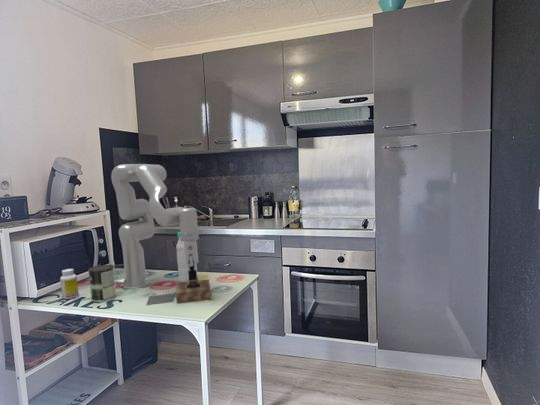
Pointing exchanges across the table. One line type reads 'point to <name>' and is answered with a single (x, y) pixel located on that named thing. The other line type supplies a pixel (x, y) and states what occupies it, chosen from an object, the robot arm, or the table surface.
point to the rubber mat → (160, 299)
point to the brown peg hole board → (193, 292)
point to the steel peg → (193, 282)
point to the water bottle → (181, 261)
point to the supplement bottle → (69, 284)
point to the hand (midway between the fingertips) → (193, 277)
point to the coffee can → (102, 283)
